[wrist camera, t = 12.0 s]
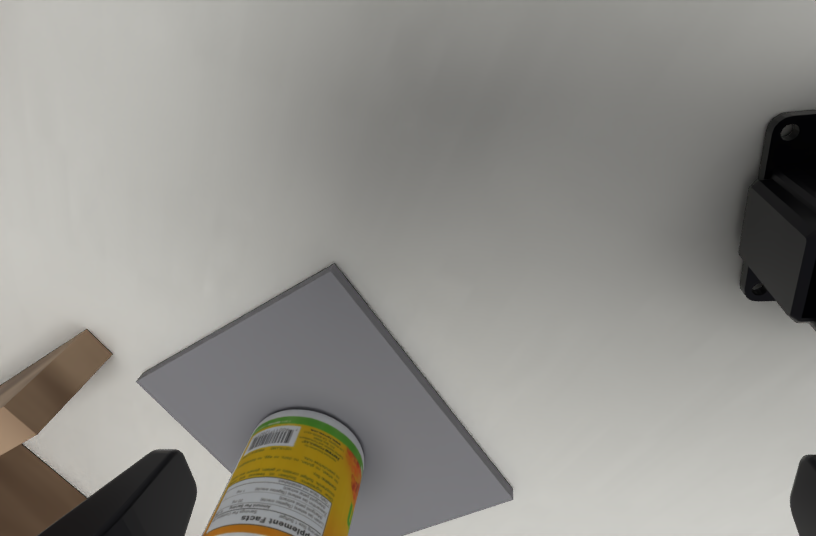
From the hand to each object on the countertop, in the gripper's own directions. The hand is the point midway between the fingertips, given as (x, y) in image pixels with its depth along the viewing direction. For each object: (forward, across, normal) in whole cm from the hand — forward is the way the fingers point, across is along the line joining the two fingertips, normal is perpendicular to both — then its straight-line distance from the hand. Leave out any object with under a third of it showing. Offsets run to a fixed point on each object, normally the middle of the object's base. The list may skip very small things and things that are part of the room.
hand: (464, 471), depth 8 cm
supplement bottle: (+13, +9, +13) cm, 20 cm away
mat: (+13, +8, +12) cm, 19 cm away
